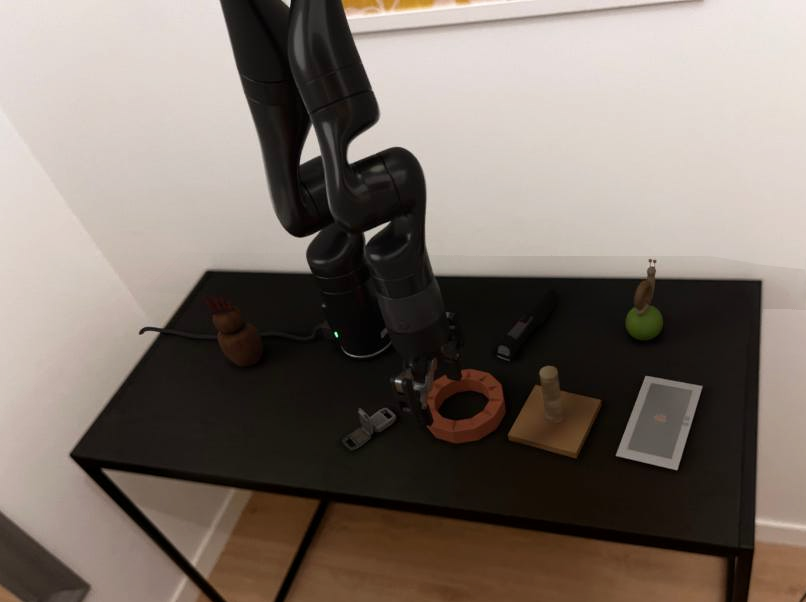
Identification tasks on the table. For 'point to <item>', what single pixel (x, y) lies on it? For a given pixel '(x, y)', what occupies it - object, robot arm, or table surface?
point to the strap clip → (369, 427)
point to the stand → (555, 417)
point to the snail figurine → (645, 310)
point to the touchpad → (660, 422)
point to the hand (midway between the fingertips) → (440, 400)
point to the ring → (475, 425)
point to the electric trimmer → (525, 325)
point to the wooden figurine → (235, 333)
